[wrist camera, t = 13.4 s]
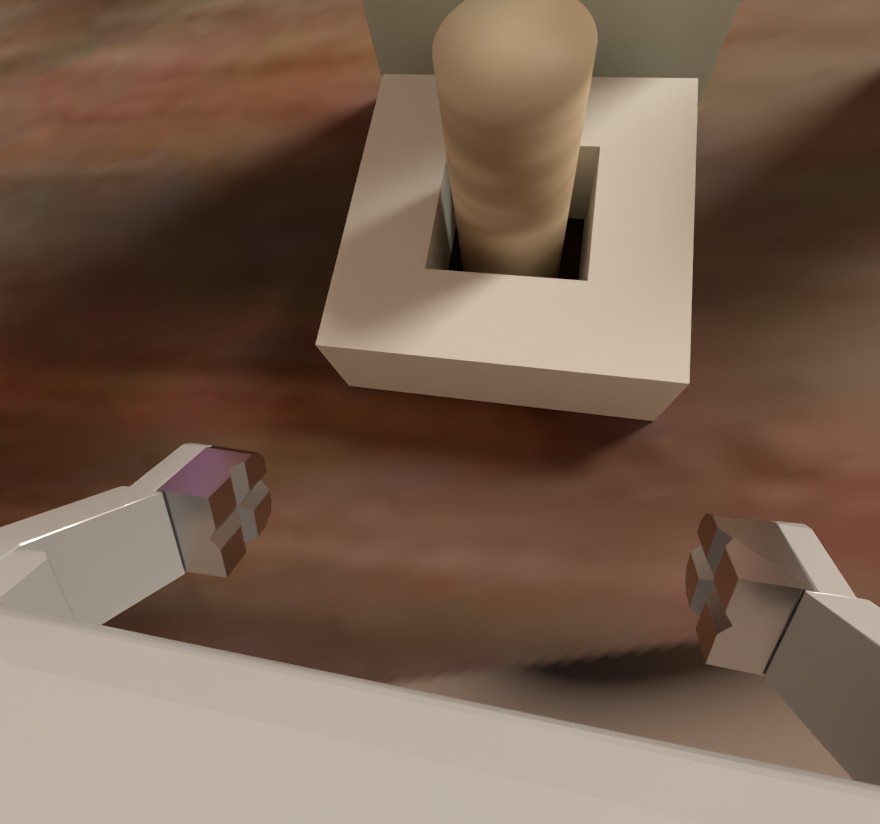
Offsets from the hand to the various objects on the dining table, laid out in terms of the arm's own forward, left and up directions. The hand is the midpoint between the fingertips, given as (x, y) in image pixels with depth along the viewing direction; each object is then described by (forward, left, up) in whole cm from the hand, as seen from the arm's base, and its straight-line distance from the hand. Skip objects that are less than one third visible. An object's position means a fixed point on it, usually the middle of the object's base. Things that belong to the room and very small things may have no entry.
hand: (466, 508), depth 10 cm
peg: (-1, +11, -10) cm, 15 cm away
